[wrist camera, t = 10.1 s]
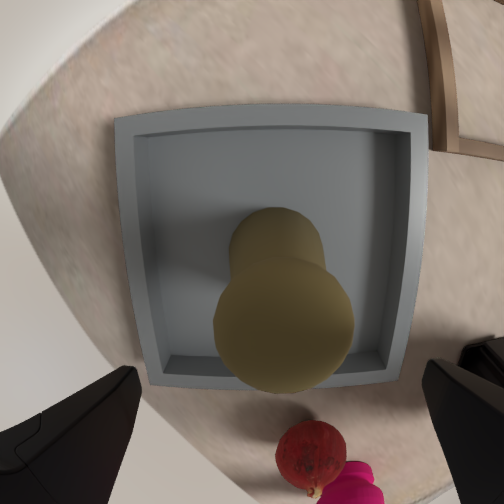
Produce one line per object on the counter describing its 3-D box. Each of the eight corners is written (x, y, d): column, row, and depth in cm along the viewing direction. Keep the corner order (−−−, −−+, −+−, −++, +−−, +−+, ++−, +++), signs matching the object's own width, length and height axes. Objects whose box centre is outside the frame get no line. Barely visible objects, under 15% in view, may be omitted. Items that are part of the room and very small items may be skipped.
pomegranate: (269, 407, 25) (269, 482, 17) (336, 395, 25) (355, 468, 17) (280, 447, 27) (282, 515, 19) (340, 436, 26) (354, 503, 18)
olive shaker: (213, 274, 21) (169, 380, 11) (253, 190, 19) (241, 229, 9) (295, 311, 22) (315, 433, 11) (340, 233, 20) (410, 312, 9)
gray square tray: (386, 358, 23) (397, 380, 20) (160, 362, 24) (150, 384, 21) (407, 118, 18) (427, 114, 15) (133, 122, 19) (114, 118, 16)
